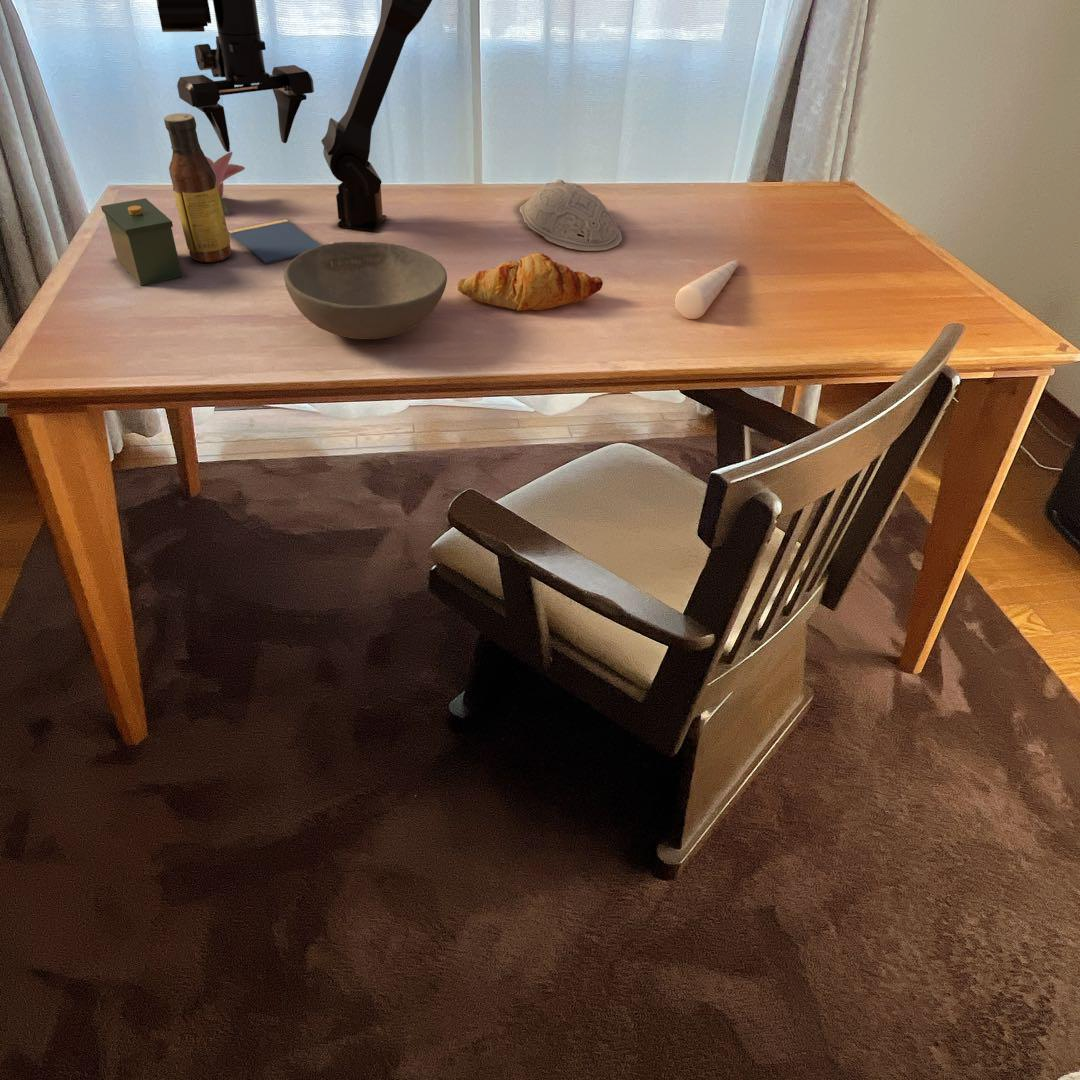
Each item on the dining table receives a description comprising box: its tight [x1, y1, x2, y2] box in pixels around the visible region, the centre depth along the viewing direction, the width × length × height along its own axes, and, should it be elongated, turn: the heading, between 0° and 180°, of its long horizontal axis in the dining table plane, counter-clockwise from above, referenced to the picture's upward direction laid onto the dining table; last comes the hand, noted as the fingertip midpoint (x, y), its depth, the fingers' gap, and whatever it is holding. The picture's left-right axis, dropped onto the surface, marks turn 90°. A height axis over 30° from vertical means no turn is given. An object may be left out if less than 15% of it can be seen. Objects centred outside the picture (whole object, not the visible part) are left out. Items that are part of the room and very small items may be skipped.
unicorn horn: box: [674, 259, 740, 320], centre depth 132 cm, size 5×24×5 cm, turn 149°
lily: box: [205, 151, 246, 215], centre depth 146 cm, size 12×12×10 cm
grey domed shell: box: [519, 178, 623, 252], centre depth 150 cm, size 16×25×7 cm, turn 19°
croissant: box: [456, 252, 604, 311], centre depth 126 cm, size 21×10×8 cm, turn 97°
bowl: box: [283, 241, 448, 340], centre depth 117 cm, size 21×21×8 cm
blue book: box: [228, 218, 321, 265], centre depth 139 cm, size 10×14×1 cm
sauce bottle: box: [163, 112, 232, 263], centre depth 127 cm, size 6×6×20 cm
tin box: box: [100, 198, 183, 286], centre depth 126 cm, size 6×10×9 cm, turn 38°
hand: (256, 146), depth 134 cm, fingers open, 9 cm apart
